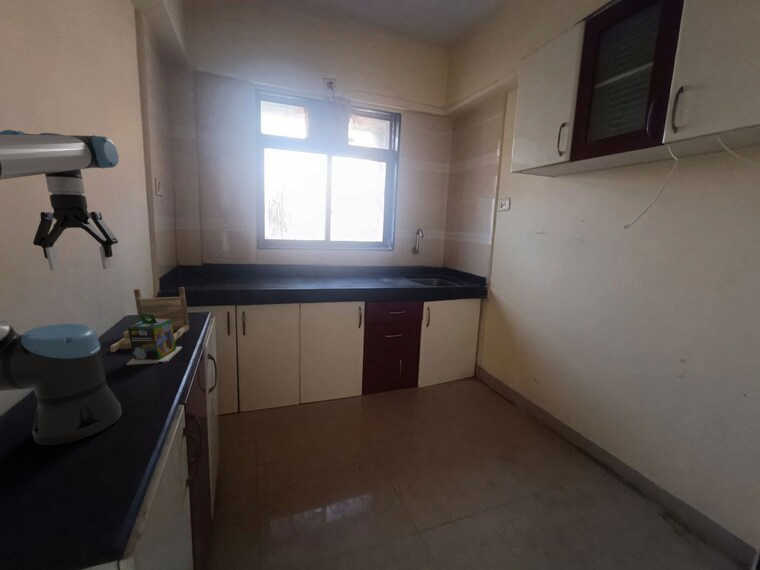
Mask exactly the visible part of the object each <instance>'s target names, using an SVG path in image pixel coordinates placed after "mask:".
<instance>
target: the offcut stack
mask: <svg viewBox="0 0 760 570" xmlns="http://www.w3.org/2000/svg"><path fill="white" fill-rule="evenodd" d="M122 334H123V338H124V342H122V343H121V344H120V348H119V349H120V350H129V349H131V350H132V347H131V343H130V337H129V332H128V329H127V330H126V331H123V332H122Z"/></svg>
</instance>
